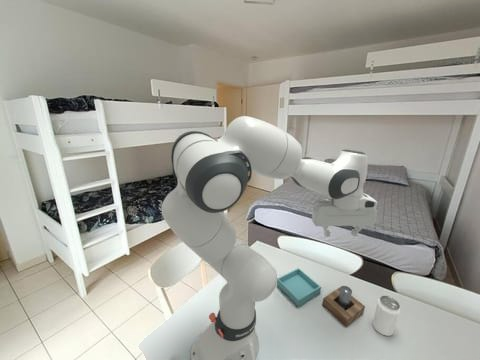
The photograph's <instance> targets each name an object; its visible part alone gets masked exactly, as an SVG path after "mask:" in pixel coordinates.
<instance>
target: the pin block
mask: <svg viewBox="0 0 480 360" xmlns="http://www.w3.org/2000/svg"><path fill="white" fill-rule="evenodd" d="M340 288H341V286H340V287H338V288H336V289H335V290H334V291H332V292H330V293H329V294H327V295H325V296H324V297H323V298H322V304H321V306H322V307H323V308H324V309H325V310H327V312H329V313H330V315H332V316H333V317H334V318H335V320H337V321H338V322H339V323H340V324H342V326H344V327H345V328H347V327H349V326H350V325H351V324H353V323H354V322H355V321H357V319H359V318H360V317H361V316H363V315H364V312H365V308H366V306H365V305H364V304H363V303H362V302H360V301H359V300H358V299H356V298H355V297H354V296H352V295H351V299H350V304H349V309H348V310H346V311H345V310H344V309H343V308H342V307H341V306H340V305H338V304H337V303H338V298H339V293H340Z"/></svg>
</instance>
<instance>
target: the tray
mask: <svg viewBox="0 0 480 360" xmlns="http://www.w3.org/2000/svg"><path fill="white" fill-rule="evenodd" d="M276 287H277V288H278V289H279V290H280V291H281V293H283V294H284V295H285V297H287V298H288V299H289V300H290V302H291V303H292V304H293V305H294V306H295V307H296V308H297V309H298V308H300V307H302V306H304V305H305V304H307V303H309V302H310V301H311V300H313V299H315V298H316V297H318V296H320V295H321V291H322V286H321V285H319V283H317V281H315V280H314V279H313V278H311V277H310V276H309V275H308V274H306V273H305V272H304V271H303V270H302V269H300V267H298V268H295V269H293V270H291V271H290V272H288V273H286V274H284V275H282V276H279V277H277V282H276Z"/></svg>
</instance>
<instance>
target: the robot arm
mask: <svg viewBox="0 0 480 360" xmlns="http://www.w3.org/2000/svg"><path fill="white" fill-rule="evenodd" d="M302 149H303V148H302V145H301V143H300V142H299V141H298V140H297V139H296V138H295V137H294V136H292V135H291V134H290V133H288V132H286V131H285V130H283V129H282V128H279V127H278V126H276V125H274V124H272V123H269V122H266V121H264V120H261V119H258V118H256V117H251V116H247V115H241V116H239V117H236V118H235V119H233V120H232V121H231V122H229V124H228V125H227V127H226V128H225V131H224V133H223V135H221V136H220V137H219V138H217V139H214V138H213V137H212V136H211V135H209V134H207V133H205V132H202V131H198V130H192V131H186V132H184V133H182V134H181V135H179V136H178V137H177V138H176V139H175V141H174V143H173V145H172V148H171V154H170V155H171V156H170V157H171V166H172V175H173V178H174V179H176V180H177V185H176V186H175V188H174V189H172V190H171V191H170V192H168V193H167V195H166V197H165V198H164V199H163V201H162V205H161V215H162V218H163V219H164V221H165V222H166V224H167V225H168V227H169V228H170V229H171V231H172V232H173V233H174V235H175V236H176V237H177V238H178V239H179V240H180V241H181V242H182V243H183V244H184V245H185V246H186V247H188V248H189V249H190V250H191V251H192V252H194V253H195V254H196V255H197V256H198V257H199V258H200V259H201V260H202V261H203V262H205V263H207V264H208V265H209V266H210V267H211V268H212V269H213V270H214V271H215V272H216V273H217V274H219V275H220V276H221V277H222V278H223V279H224V280H225V282H226V283H225V284H224V285H223V287H222V288H221V289H220V290H219V291H220V292H219V295H218V298H219V309H218V312H217V314H215V313H214V312H211V313H209V315H208V318H209V320H210V322H211V323H210V324H209V325H208V326H207V327H206V329H205V330H203V331H202V333H200V335H199V337H198V340H197V341H195V343H193V344H192V346H191V349H190V360H256V358H257V355H258V353H259V348H260V344H259V343H260V342H259V339H258V336H257V332H256V324H257V312H256V303H258V302H261V301H264V300H266V299H268V298H269V297H270V296H271V295H272V294H273V292H274V291H275V289H276V287H277V278H278V273H277V270H276V268H275V266H273V265H272V263H270V261H268V259H266V257H264V256H263V255H262V254H261V253H259V252H258V251H256V250H254V249H253V248H252V247H250V246H248V245H247V244H246V243H244V242H243V241H242V240H240V239H239V238H238V236H237V231H236V230H237V229H236V228H235V227H234V225H233V224H232V223H231V221H229V219H228V218H227V216H226V215H225V213H224V212H225V211H227V210H229V209H230V208H232V207H233V206H234V205H236V204H237V203H238V201H239V200H240V199H241V198H242V196H243V195H244V193H245V191H246V189H247V187H248V183H249V181H251V179H252V174H253V173H254V174H255V173H256V174H258V175H259V176H263V177H266V178H269V179H276V180H286V179H288V178H291V179H292V181H293V182H294V184H296V185H297V186H298V187H301V188H305V189H307V190H309V191H312V192H314V193H317V194H319V195H322V196H325V197H326V199H323V198H321V199H318V200H316V201H315V202H313V204H312V205H313V207H312V215H311V221H312V223H313V225H314V226H315V227H322V229H323V235H324V237H331V231H330V230H329V227H353V226H354V228H353V229H351V231H350V234H351V236H353V237H358V236H359V233H360V231H362V229H364V226H371V227H372V226H373V225H375V224H376V223H377V217H378V209H377V208H378V204H379V202H378V201H377V200H376V199H375V198H373V197H372V196H370V195H368V194H367V193H364V184H365V182H366V179H367V175H368V174H367V173H368V165H369V164H368V163H369V162H368V160H369V158H368V155H367V154H366V152H363V151H359V150H352V149H341V150H340V151H339V153H338V156H337V158H336V160H334V161H333V162H331V163H330V162H325V161H322V160H318V159H315V158H313V157H309V156H304V157H303V150H302Z"/></svg>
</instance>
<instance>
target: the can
mask: <svg viewBox="0 0 480 360" xmlns="http://www.w3.org/2000/svg"><path fill="white" fill-rule="evenodd" d="M400 313H401V309H400V303H399V302H398V301H397V300H396V299H395V298H394V297H391V296H390V295H389V296H388V295H382V296H381V297H380V298H379V299H378V300H377V302H376V306H375V310H374V314H373V319H372V321H371V323H372V326H373V328H374V330H375V331H376V332H378V333H379V334H381V335H383V336H386V337H387V336H388V337H389V336H392V335H393V334H394V331H395V329H396V326H397V322H398V319H399V317H400Z"/></svg>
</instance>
